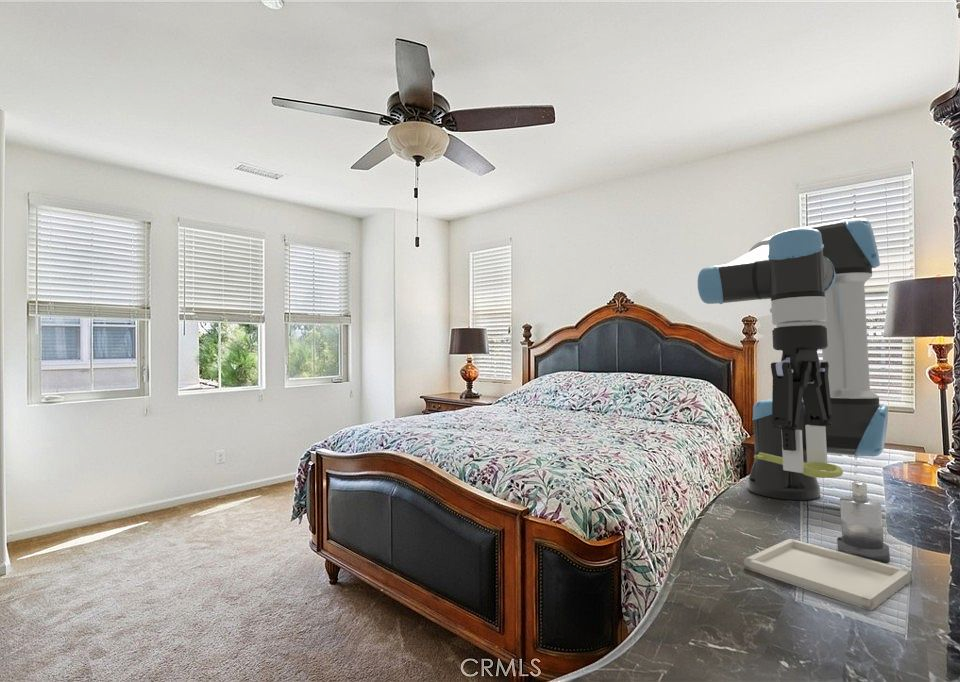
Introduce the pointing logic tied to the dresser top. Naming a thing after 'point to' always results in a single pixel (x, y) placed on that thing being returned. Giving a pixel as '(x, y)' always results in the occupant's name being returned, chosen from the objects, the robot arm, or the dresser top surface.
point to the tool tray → (830, 572)
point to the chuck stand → (862, 526)
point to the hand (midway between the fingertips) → (805, 468)
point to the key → (808, 466)
